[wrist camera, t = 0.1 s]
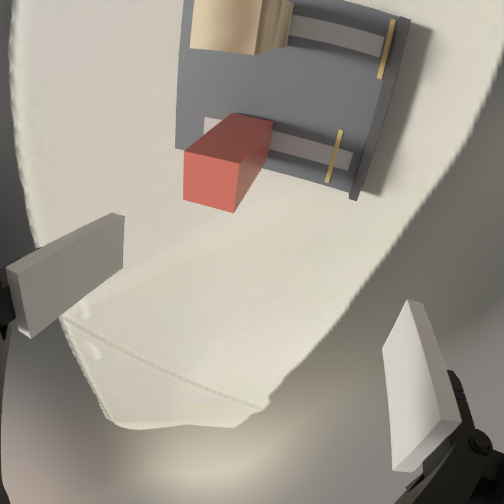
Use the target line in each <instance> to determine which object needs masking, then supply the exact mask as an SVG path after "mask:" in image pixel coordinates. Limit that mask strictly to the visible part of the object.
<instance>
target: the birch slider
mask: <svg viewBox="0 0 504 504" xmlns="http://www.w3.org/2000/svg"><path fill="white" fill-rule="evenodd" d="M293 7H294V3H292V2H289V1H287V0H194V9H193V18H192V28H191V39H190V48H194V49H206V50H216V51H225V52H233V53H241V54H248V55H257V54H260V53H264V52H267V51H271V50H274V49H278V48H282V47H286V46H287V42H288V36H289V30H290V24H291V19H292V13H293Z"/></svg>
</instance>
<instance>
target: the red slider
mask: <svg viewBox="0 0 504 504" xmlns="http://www.w3.org/2000/svg"><path fill="white" fill-rule="evenodd" d="M273 123H274V122H273V121H269V120H264V119H260V118H255V117H250V116H245V115H240V114H235V113H231V114H230V115H228V116H227V117H226V118H224V119H223V120H222V121H221V122H219V123H218V124H217V125H216V126H214V127H213V128H212V129H211V130H209V131H208V132H207V133H206V134H204V135H203V136H202V137H201V138H199V139H198V140H197V141H196V142H195V143H193V144H192V145H191V146H190V147H189V148H187V149H186V150H185V151H184V178H183V200H187V201H191V202H194V203H198V204H202V205H206V206H209V207H213V208H217V209H220V210H224V211H227V212H231V213H234V212H235V210H236V209H237V207H238V205H239V204H240V202H241V201H242V199H243V197H244V196H245V194H246V193H247V191H248V189H249V188H250V186H251V185H252V183H253V181H254V180H255V178H256V177H257V175H258V174H259V172H260V170H261V169H262V167H263V166H264V164H265V163H266V161H267V158H268V152H269V146H270V140H271V135H272V129H273Z"/></svg>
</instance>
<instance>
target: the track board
mask: <svg viewBox="0 0 504 504" xmlns="http://www.w3.org/2000/svg"><path fill="white" fill-rule="evenodd" d="M287 1H289V2H292V3H294V7H293V13H292V19H291V24H290V30H289V36H288V42H287V46H286V47H282V48H278V49H274V50H271V51H267V52H264V53H260V54H257V55H248V54H241V53H233V52H225V51H216V50H206V49H194V48H190V39H191V28H192V18H193V9H194V0H184V5H183V15H182V25H181V37H180V50H179V65H178V82H177V103H176V136H175V148H176V149H181V150H186V149H187V148H189V147H190V146H191V145H192V144H193V143H195V142H196V141H197V140H198V139H199V138H201V137H202V136H203V135H204V134H206V133H207V132H208V131H209V130H211V129H212V128H213V127H214V126H216V125H217V124H218V123H219V122H221V121H222V120H223V119H224V118H226V117H227V116H228V115H230V114H231V113H235V114H240V115H245V116H250V117H255V118H260V119H264V120H269V121H273V122H274V123H273V129H272V135H271V140H270V146H269V152H268V158H267V161H266V163H265V164H264V166H263V167H262V168H264V169H268V170H272V171H275V172H279V173H283V174H287V175H290V176H294V177H298V178H301V179H305V180H308V181H312V182H315V183H319V184H322V185H326V186H329V187H332V188H336V189H339V190H342V191H345V192H349V199H351V200H354V201H357V199H358V196H359V193H360V191H361V188H362V185H363V182H364V179H365V176H366V173H367V171H368V168H369V165H370V162H371V159H372V156H373V153H374V150H375V147H376V144H377V140H378V137H379V134H380V131H381V128H382V125H383V121H384V118H385V115H386V111H387V108H388V105H389V101H390V98H391V94H392V91H393V87H394V84H395V80H396V77H397V73H398V69H399V65H400V62H401V58H402V54H403V50H404V46H405V42H406V38H407V34H408V29H409V25H410V21H411V20H410V19H407V18H404V17H398V16H395V15H392V14H389V13H385V12H382V11H379V10H376V9H372V8H369V7H365V6H362V5H358V4H354V3H350V2H346V1H342V0H287Z"/></svg>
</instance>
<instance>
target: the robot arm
mask: <svg viewBox="0 0 504 504" xmlns="http://www.w3.org/2000/svg"><path fill="white" fill-rule="evenodd" d="M124 220H125V216H122V215H118V214H115V213H110V214H108V215H106V216H104V217H102V218H100V219H98V220H95V221H93V222H91V223H89V224H87V225H85V226H83V227H81V228H79V229H77V230H75V231H73V232H71V233H69V234H67V235H65V236H63V237H61V238H59V239H57V240H55V241H53V242H51V243H49V244H47V245H45V246H43V247H40V248H37V249H35V250H33V251H32V252H30V253H29V254H26V255H24V256H23V257H22V258H19V259H17V260H15V261H14V262H11V263H10V264H8V265H6V266H4V267H3V268H1V269H0V504H10V501H9V498H8V495H7V493H6V491H5V489H4V486H3V483H2V476H1V414H2V399H3V388H4V378H5V369H6V361H7V354H8V348H9V343H10V336H11V332H12V328H11V327H12V326H11V323H10V322H11V321H12V320H14V319H15V318H16V321H17V325H18V328H19V331H21V332H22V333H23V334H25V335H26V336H28V337H29V338H31V339H32V338H33V337H34V336H35V335H36V334H38V333H39V332H40V331H41V330H43V329H44V328H45V327H46V326H47V325H49V324H50V323H51V322H52V321H54V320H55V319H56V318H58V317H59V316H60V315H61V314H63V313H64V312H65V311H66V310H68V309H69V308H70V307H72V306H73V305H74V304H75V303H77V302H78V301H79V300H81V299H82V298H83V297H84V296H86V295H87V294H88V293H90V292H91V291H92V290H94V289H95V288H96V287H98V286H99V285H100V284H102V283H103V282H104V281H106V280H107V279H108V278H110V277H111V276H112V275H114V274H115V273H116V272H118V271H119V270H120V269H122V268H123V241H124ZM382 351H383V359H384V367H385V374H386V383H387V393H388V403H389V415H390V429H391V446H392V470H393V471H404V472H413V471H414V470H415V469H416V468H417V467H418V466H419V465H421V464H422V463H423V473H422V474H421V475H420V476H418V477H417V478H416V479H415V480H414V481H413V482H411V484H409V485H408V486H407V487H406V489H407V490H406V491H405V492H404V494H403V495H402V496H401V497H400V498H399V499H398V500H397V501H396V502H395V504H504V454H503V453H501V452H498V451H496V450H493V447H492V443H491V441H490V439H489V437H488V436H487V435H486V434H485V433H484V432H482V431H480V430H479V429H475V427H474V423H473V419H472V416H471V413H470V409H469V406H468V403H467V402H466V397H465V394H464V393H463V392H464V390H463V388H462V384H461V382H460V380H459V378H458V377H457V376H456V374H455V373H454V372H453V371H451V370H446V367H445V364H444V361H443V358H442V355H441V352H440V350H439V347H438V344H437V341H436V338H435V335H434V333H433V330H432V328H431V325H430V322H429V320H428V317H427V315H426V312H425V310H424V307H423V305H422V303H419V302H415V301H412V300H408V299H407V300H406V302H405V304H404V306H403V309H402V311H401V313H400V315H399V317H398V319H397V321H396V323H395V325H394V327H393V329H392V331H391V333H390V335H389V337H388V339H387V341H386V343H385V345H384V346H383V348H382Z"/></svg>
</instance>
